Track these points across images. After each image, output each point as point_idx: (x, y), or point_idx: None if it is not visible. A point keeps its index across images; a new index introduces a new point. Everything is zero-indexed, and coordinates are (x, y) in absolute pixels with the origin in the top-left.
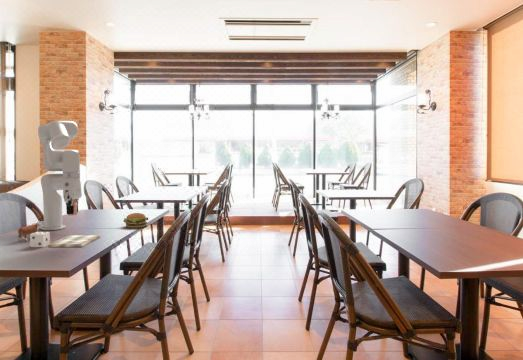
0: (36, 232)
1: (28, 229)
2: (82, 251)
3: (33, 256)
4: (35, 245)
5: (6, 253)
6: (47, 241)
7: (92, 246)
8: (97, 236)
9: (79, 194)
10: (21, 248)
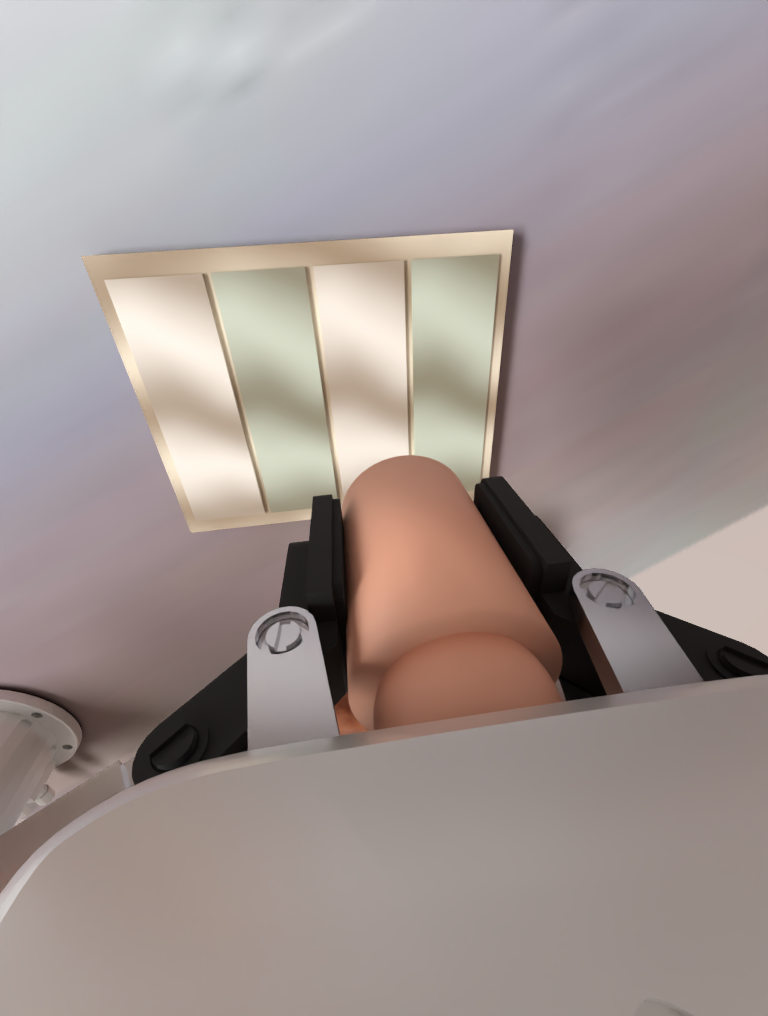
0: None
1: (341, 712)
2: (672, 135)
3: (706, 438)
4: None
5: None
6: None
7: (488, 126)
8: (137, 262)
9: (348, 1010)
10: None
